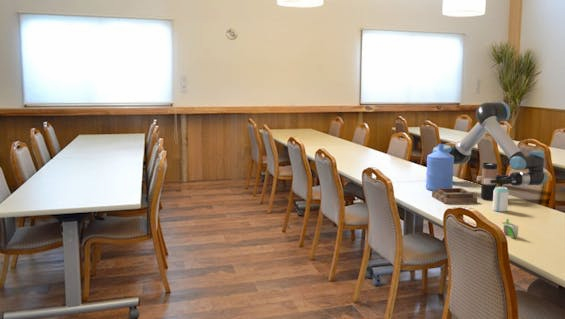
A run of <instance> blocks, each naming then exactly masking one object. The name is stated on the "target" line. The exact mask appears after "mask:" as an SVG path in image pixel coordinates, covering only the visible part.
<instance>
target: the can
mask: <svg viewBox="0 0 565 319" xmlns="http://www.w3.org/2000/svg"><path fill="white" fill-rule="evenodd" d="M508 203H509V190H508V187H505V186H496V187H495V189H494V191H493V200H492V208H491V209H492V211H494V212H498V213H505V212H506V211H508Z"/></svg>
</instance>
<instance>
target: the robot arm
mask: <svg viewBox="0 0 565 319" xmlns="http://www.w3.org/2000/svg"><path fill="white" fill-rule="evenodd" d="M510 117H511V108H510V106H509V104H507V103H506V102H504V101H503V102H501V101H497V102H496V101H494V102H493V101H492V102H483V103H481V104H480V105H478V107H477V108H476V110H475V118H476V120H477V122H476V124H475V125H474V126H473V127H472V128H471V129H470V131H469V132H468V133H467V134H466V135H465V136H464V137H463V138H462V139H461V141H457V142H455V144H453V146H451V145H447V144H444V146H443V147H444V149H443V150H444V151H445V152H447V153H449V154H450V155H452V156H454V164H453V166H455V165H462V164H463V165H464V164H466V163H467V162H469V161H470V160H471V155H472V149H473V148H475V146H477V144H479V142H481V140H482V139H483V138H484V137H485V135H486V136H487V134H488V133H489V135H490V136H491V137H492V139H493V140H494V141H495V142H496V144H497V145H498V147H500V149H501V150H502V152H504V154H505V156H507V158H508V160H509V167H510V168H511V169H513V170H514V171H515V172H511V173H510V174H509V175H507V174H497V178H496V179H484V184H496V185H511V186H515V187H516V186H517V187H518V186H522V187H525V186H543V185H542V184H543V183H545V182H546V181H547V178H548V179H549V177H548V174H546V173H547V172H546V173H545V171H544V169H545V168H544V166H545V159H546V158H545V152H544V151H541V150H530V151H529V155H527V154H526V155H525V154H524V153H523V151H522V150H521V149H520V147H519V146H518V145H517V144H516V142H514V140H513V139H512V138H511V136H510V135H509V134H508V133H507V131H506V130H505V129H504V127H502V125H501V123H502V122H506V121H508V120H509V118H510ZM438 146H439V145H437V146H435V147H433V149H432V153H434V152H436V151H438ZM524 170H528V171H524ZM516 171H518V172H516ZM476 181H477V182H482V175H476ZM547 182H548V181H547Z"/></svg>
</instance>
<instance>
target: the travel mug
mask: <svg viewBox="0 0 565 319" xmlns="http://www.w3.org/2000/svg"><path fill="white" fill-rule="evenodd" d="M497 173H498V164H497V163H489V162H484V163H482V170H481V176H482V181H481V184H480V186H481V188H480V189H481V190H480V198H481V200H484V201H493V191H494V189H495V187H497V184H484V179H496V178H497V175H498V174H497Z"/></svg>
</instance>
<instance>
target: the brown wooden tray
mask: <svg viewBox="0 0 565 319" xmlns="http://www.w3.org/2000/svg"><path fill="white" fill-rule="evenodd" d="M431 197H432V198H434V199H435V200H437V201H439V202H441V203H442V204H444V205H462V204H467V205H469V204H477V203H478V197H477V196H474V193H473V192H470V191H468V190H466V189H464V188H463V187H453V188H442V189H436V191H431Z"/></svg>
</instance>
